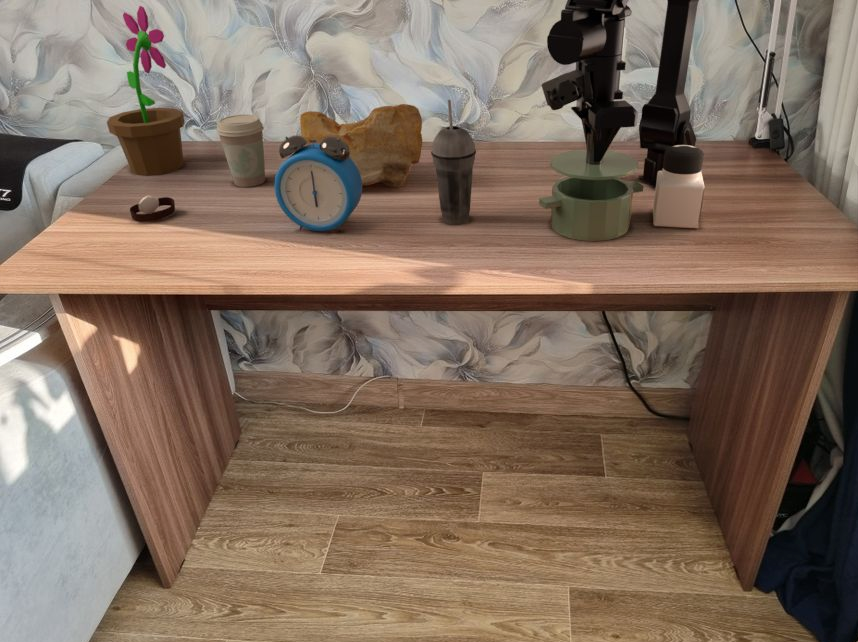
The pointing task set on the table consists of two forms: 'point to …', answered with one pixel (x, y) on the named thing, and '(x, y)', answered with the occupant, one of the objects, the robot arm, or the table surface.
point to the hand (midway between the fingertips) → (594, 158)
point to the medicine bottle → (679, 188)
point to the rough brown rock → (374, 141)
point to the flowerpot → (147, 112)
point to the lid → (593, 164)
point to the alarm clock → (317, 183)
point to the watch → (152, 209)
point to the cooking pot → (591, 207)
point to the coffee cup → (243, 148)
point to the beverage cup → (454, 171)
